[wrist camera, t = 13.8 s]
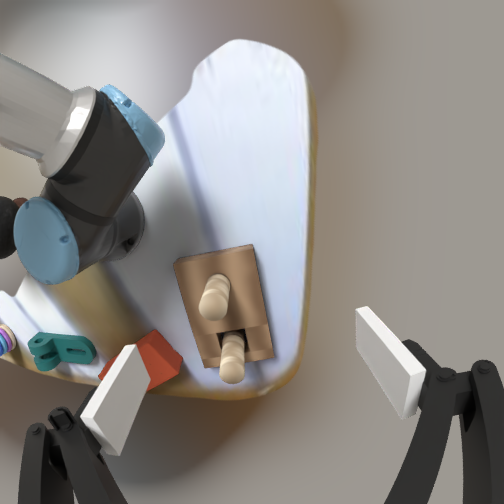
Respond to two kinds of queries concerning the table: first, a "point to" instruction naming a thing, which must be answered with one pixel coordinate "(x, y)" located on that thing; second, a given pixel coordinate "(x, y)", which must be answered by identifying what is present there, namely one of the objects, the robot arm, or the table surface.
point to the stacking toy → (6, 339)
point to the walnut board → (224, 302)
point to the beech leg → (232, 357)
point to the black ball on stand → (8, 224)
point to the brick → (154, 359)
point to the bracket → (60, 350)
